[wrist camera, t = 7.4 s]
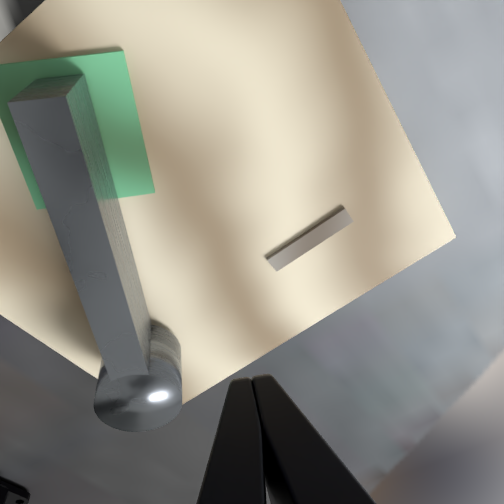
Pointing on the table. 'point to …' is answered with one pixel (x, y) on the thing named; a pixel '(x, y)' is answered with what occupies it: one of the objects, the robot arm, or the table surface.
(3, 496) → the robot arm
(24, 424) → the table surface
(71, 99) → the grey long bar
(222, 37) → the dial board
